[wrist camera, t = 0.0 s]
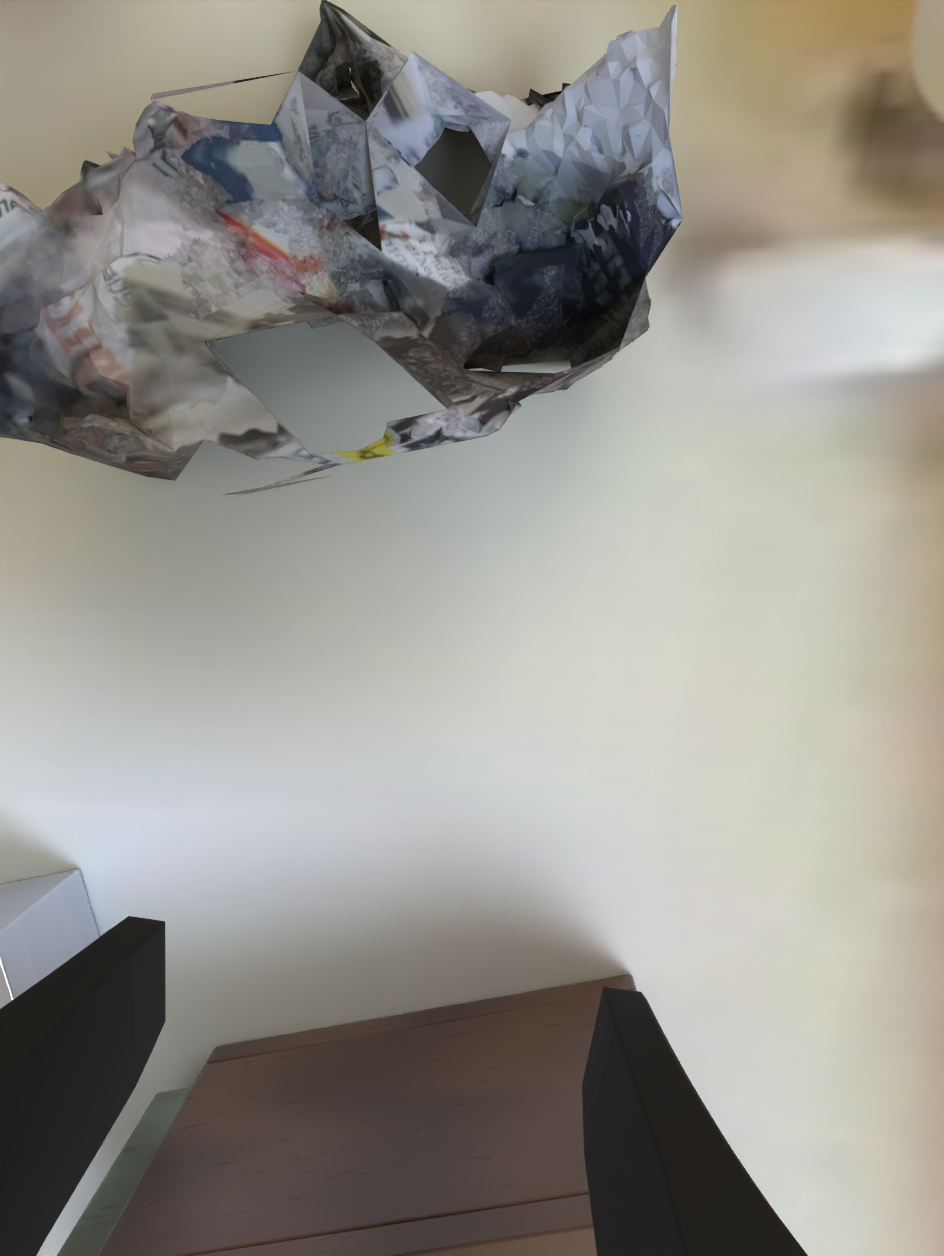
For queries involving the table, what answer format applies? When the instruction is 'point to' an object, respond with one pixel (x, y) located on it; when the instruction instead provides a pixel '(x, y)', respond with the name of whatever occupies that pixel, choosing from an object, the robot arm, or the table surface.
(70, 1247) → the drawer
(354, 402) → the table surface
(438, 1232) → the cabinet
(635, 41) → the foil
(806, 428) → the table surface
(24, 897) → the shiny metal block
